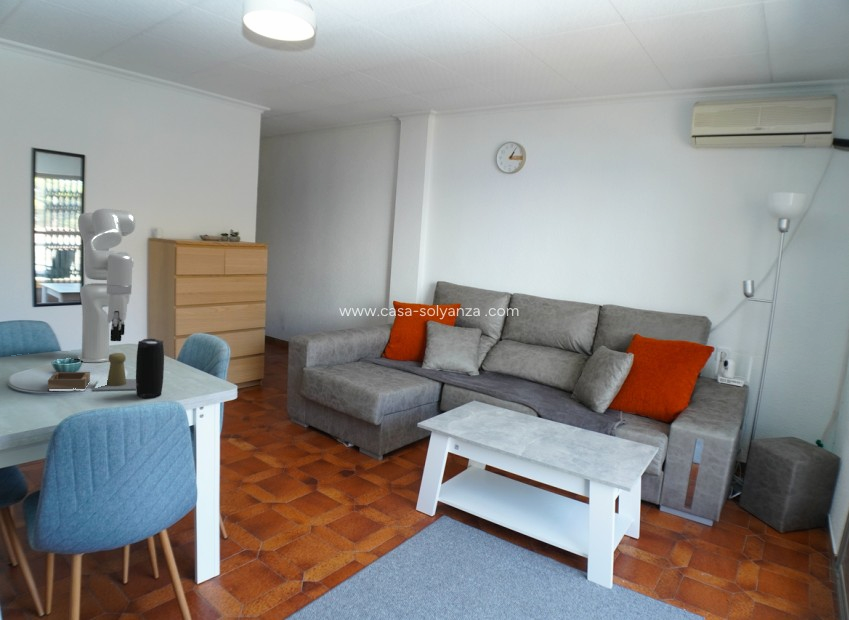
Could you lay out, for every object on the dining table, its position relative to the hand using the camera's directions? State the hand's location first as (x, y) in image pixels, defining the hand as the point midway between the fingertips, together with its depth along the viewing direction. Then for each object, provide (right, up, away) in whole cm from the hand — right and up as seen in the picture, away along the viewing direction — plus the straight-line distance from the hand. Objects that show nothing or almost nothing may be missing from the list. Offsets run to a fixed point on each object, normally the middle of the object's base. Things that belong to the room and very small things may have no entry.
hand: (117, 337), depth 190 cm
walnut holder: (-14, -17, -5) cm, 22 cm away
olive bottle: (-1, -17, +2) cm, 17 cm away
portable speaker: (+14, -20, -6) cm, 25 cm away
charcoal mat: (-1, -17, +1) cm, 17 cm away
